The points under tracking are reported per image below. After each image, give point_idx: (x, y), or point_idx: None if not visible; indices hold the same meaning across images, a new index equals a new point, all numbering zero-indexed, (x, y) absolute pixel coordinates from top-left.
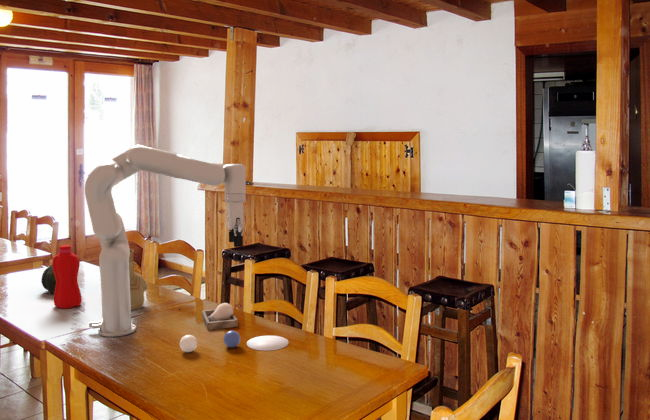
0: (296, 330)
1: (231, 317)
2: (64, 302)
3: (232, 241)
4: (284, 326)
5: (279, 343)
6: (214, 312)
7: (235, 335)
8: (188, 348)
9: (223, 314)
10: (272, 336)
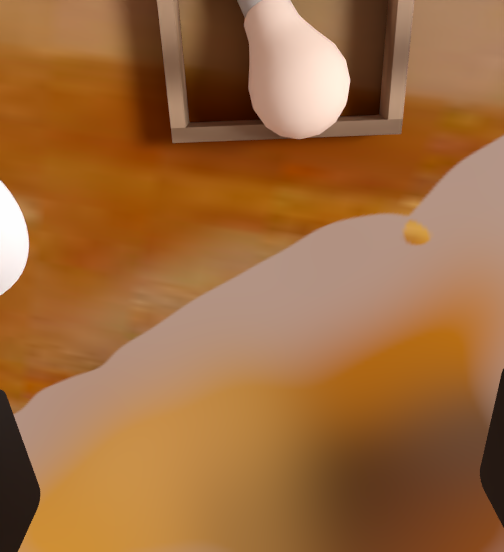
0: (88, 353)
1: None
2: None
3: (499, 414)
4: (144, 323)
5: None
6: (272, 18)
7: None
8: None
9: (249, 74)
10: (14, 259)
